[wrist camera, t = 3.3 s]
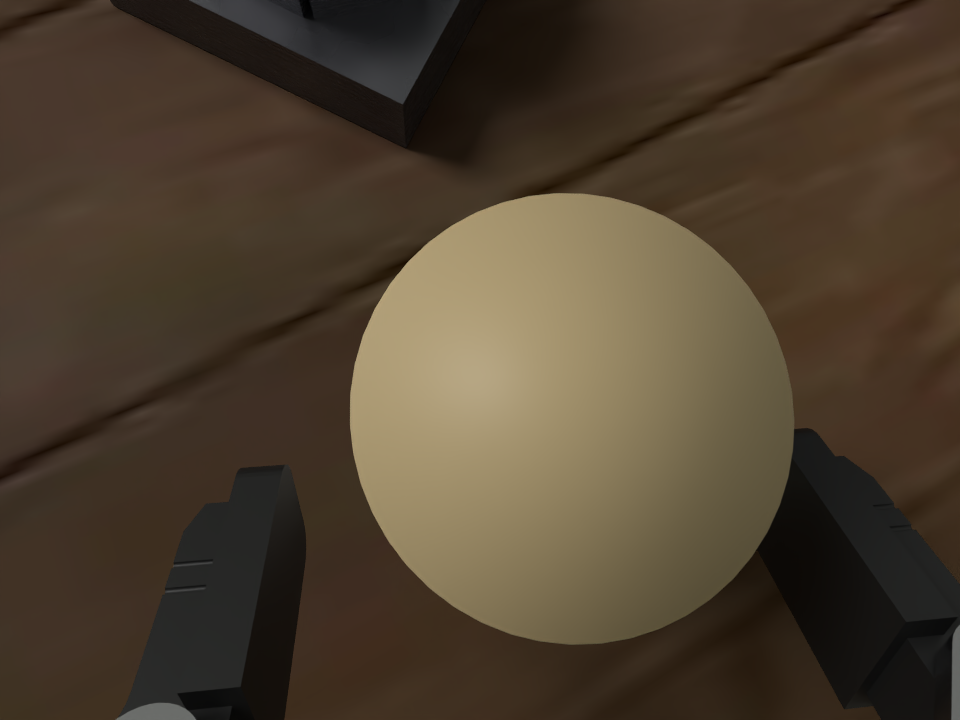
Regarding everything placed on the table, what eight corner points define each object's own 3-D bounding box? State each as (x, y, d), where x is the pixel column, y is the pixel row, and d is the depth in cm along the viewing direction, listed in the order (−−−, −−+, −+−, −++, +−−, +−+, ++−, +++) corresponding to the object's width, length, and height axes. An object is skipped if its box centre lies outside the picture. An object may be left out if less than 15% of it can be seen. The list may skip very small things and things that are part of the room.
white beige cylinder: (371, 478, 18) (266, 518, 6) (445, 330, 19) (472, 122, 7) (523, 551, 18) (696, 726, 6) (590, 400, 19) (854, 308, 7)
